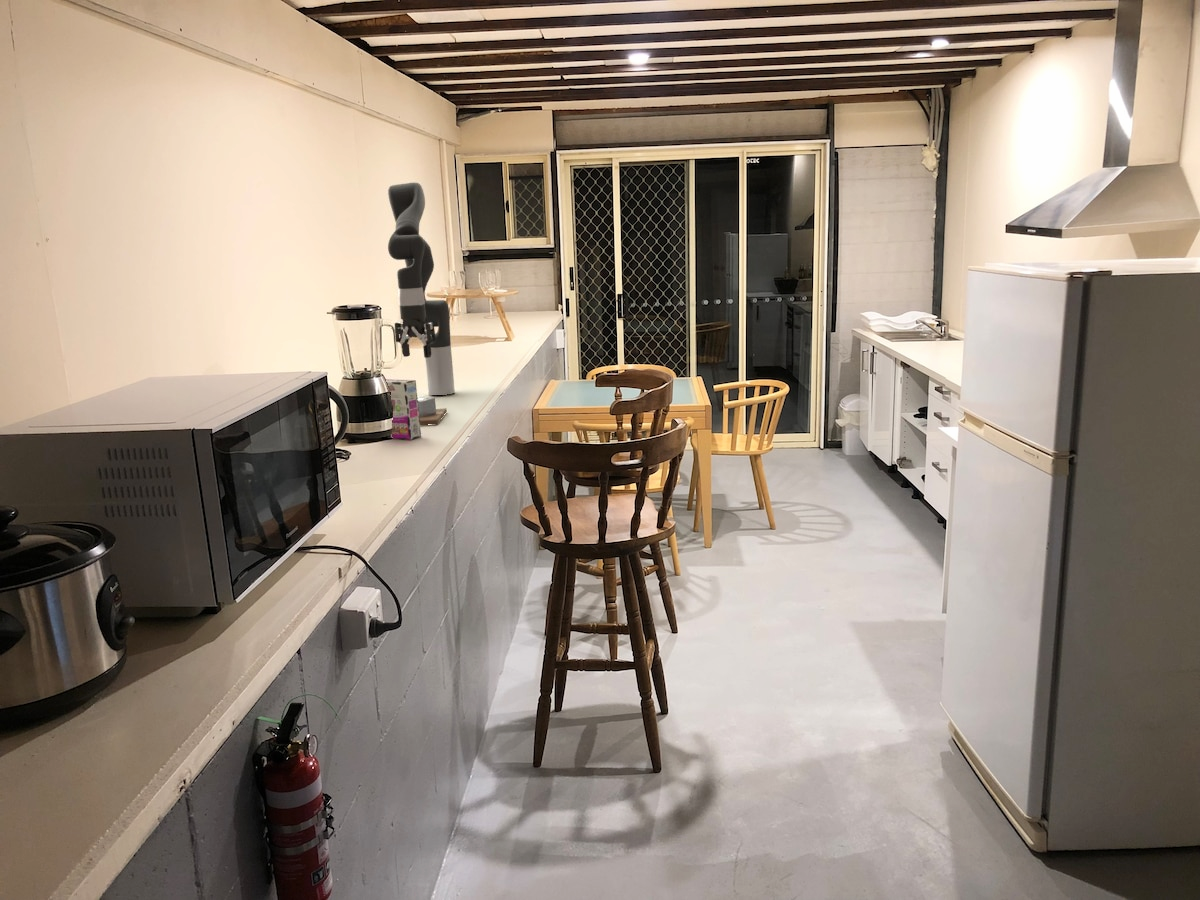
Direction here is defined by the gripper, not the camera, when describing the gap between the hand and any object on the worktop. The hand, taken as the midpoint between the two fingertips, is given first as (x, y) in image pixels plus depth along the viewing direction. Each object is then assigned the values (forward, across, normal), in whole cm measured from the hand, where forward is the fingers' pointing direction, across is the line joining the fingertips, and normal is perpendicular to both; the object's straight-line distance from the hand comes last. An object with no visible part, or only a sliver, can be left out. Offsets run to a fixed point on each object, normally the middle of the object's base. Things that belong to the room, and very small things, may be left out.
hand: (417, 356), depth 274 cm
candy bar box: (+20, +11, -21) cm, 31 cm away
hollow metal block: (+18, 0, 0) cm, 18 cm away
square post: (+18, 0, 0) cm, 18 cm away
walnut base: (+20, 0, 0) cm, 20 cm away
